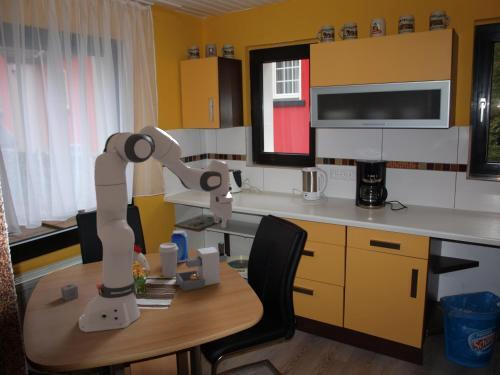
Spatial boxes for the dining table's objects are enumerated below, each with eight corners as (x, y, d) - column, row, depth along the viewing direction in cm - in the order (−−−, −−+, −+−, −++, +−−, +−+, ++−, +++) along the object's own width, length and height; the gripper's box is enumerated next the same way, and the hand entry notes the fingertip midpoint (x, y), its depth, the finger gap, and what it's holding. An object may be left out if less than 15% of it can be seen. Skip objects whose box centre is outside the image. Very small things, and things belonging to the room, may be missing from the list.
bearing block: (203, 285, 192) (202, 254, 189) (198, 279, 199) (197, 249, 196) (220, 282, 195) (219, 251, 192) (214, 276, 202) (213, 246, 200)
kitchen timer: (142, 280, 200) (140, 249, 197) (115, 278, 203) (113, 248, 200) (154, 269, 213) (152, 241, 211) (129, 267, 216) (127, 239, 213)
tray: (183, 291, 186) (183, 283, 185) (176, 281, 197) (175, 273, 197) (205, 287, 190) (204, 279, 189) (196, 277, 201) (196, 269, 201)
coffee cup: (183, 273, 207) (182, 244, 204) (170, 280, 199) (168, 249, 197) (169, 269, 212) (167, 241, 210) (155, 276, 204) (153, 246, 202)
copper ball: (196, 274, 192) (201, 280, 193) (193, 271, 195) (198, 277, 197) (189, 279, 191) (194, 285, 192) (187, 276, 194) (192, 282, 196)
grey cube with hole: (73, 294, 185) (72, 283, 185) (78, 297, 182) (77, 286, 181) (61, 297, 182) (60, 286, 181) (66, 301, 178) (65, 290, 178)
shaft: (188, 267, 190) (187, 249, 188) (185, 264, 193) (185, 247, 192) (226, 261, 197) (226, 244, 195) (223, 258, 201) (223, 241, 199)
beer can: (170, 262, 222) (168, 233, 220) (175, 257, 231) (174, 229, 228) (185, 263, 221) (184, 234, 218) (190, 258, 229) (189, 229, 226)
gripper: (206, 192, 201) (206, 220, 203) (220, 200, 182) (221, 231, 185) (218, 191, 203) (219, 219, 206) (234, 198, 185) (234, 229, 187)
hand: (220, 225), depth 195 cm, fingers open, 8 cm apart
